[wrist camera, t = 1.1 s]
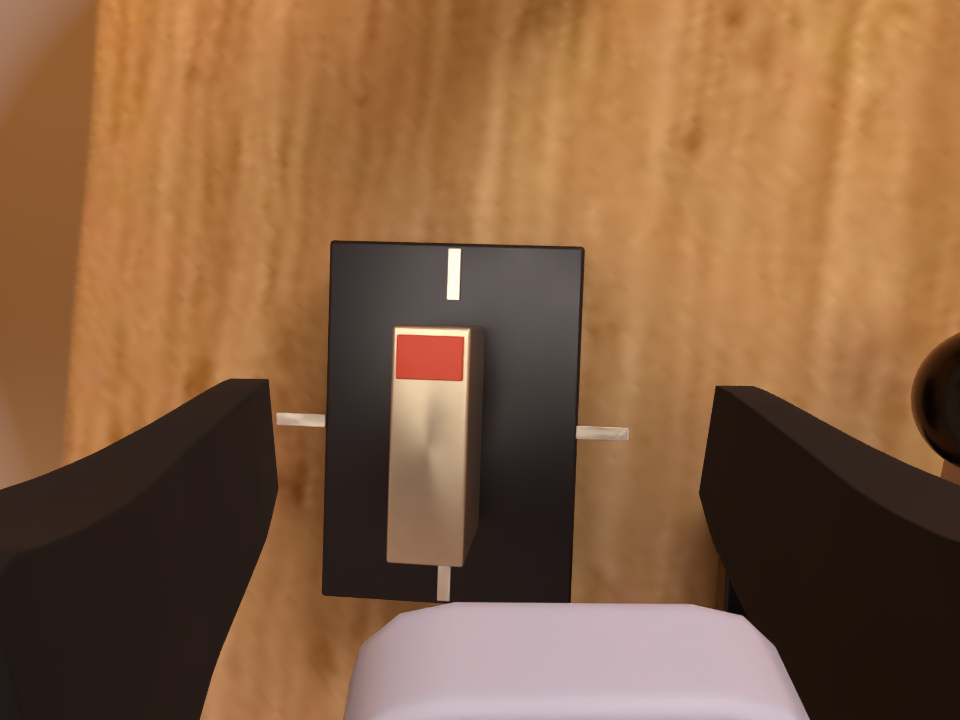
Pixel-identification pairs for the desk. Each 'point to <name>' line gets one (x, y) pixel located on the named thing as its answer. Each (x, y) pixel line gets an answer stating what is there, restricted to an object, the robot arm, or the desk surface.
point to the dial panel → (505, 415)
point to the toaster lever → (940, 404)
